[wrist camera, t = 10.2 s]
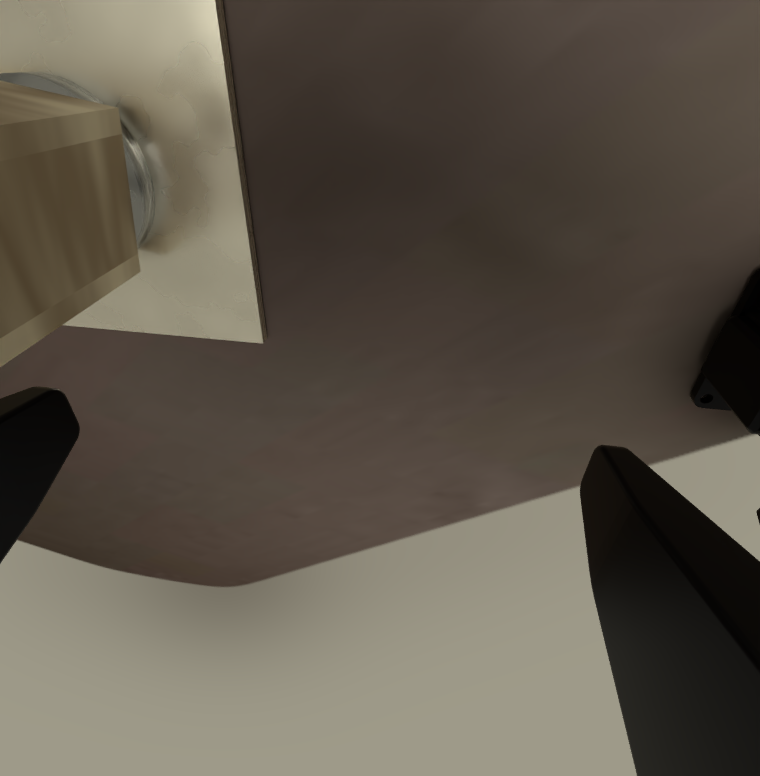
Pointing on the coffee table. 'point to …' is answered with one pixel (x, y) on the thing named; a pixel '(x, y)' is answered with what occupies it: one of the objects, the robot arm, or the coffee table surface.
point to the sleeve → (59, 212)
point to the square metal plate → (157, 152)
